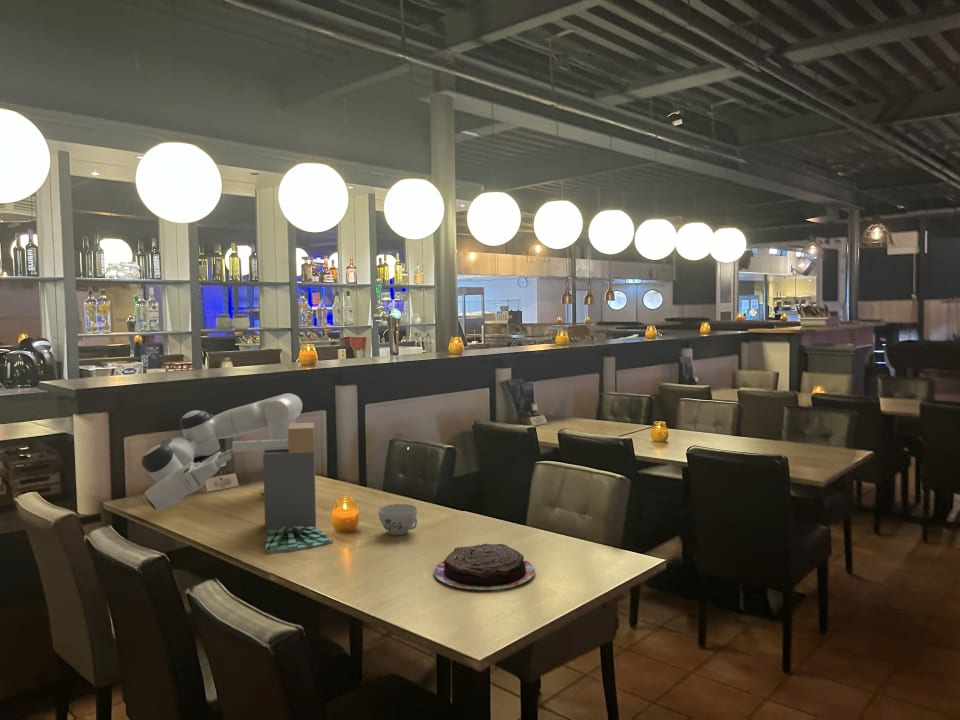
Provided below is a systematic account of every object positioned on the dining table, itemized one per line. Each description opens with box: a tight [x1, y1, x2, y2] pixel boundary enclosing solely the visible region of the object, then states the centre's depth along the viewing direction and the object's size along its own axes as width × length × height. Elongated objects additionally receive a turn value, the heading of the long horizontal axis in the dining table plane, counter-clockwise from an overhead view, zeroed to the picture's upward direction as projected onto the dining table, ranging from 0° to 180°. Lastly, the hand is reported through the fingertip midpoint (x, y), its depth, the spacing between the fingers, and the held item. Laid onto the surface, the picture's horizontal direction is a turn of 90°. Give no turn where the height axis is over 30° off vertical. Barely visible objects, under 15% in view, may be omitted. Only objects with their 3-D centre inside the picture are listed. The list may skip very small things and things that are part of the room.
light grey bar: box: [231, 439, 289, 453], centre depth 245 cm, size 3×24×3 cm, turn 102°
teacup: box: [377, 503, 418, 536], centre depth 239 cm, size 15×12×8 cm
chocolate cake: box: [433, 543, 536, 593], centre depth 203 cm, size 28×28×7 cm
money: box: [264, 526, 334, 554], centre depth 229 cm, size 20×16×5 cm
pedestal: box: [262, 422, 317, 534], centre depth 247 cm, size 12×16×34 cm
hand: (232, 452), depth 242 cm, fingers open, 8 cm apart
